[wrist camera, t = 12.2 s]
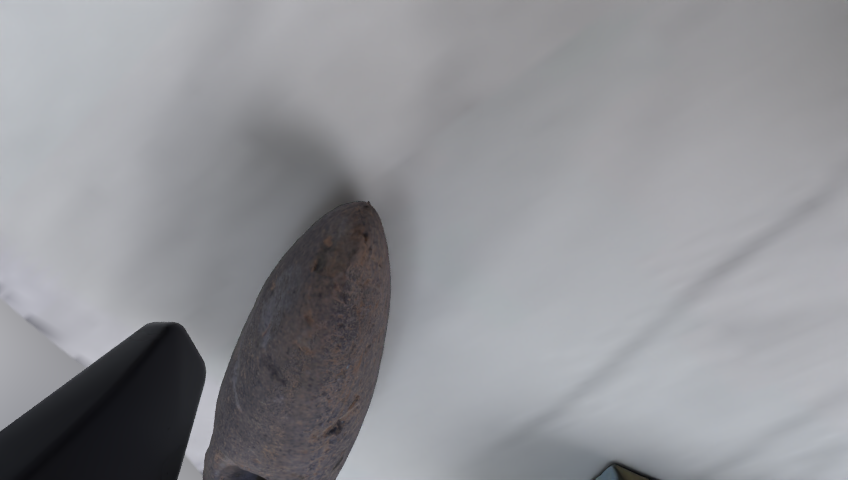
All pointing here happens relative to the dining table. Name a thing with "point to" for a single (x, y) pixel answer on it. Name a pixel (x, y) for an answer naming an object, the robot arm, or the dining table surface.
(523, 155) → the dining table surface
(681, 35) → the dining table surface
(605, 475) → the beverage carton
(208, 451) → the perforated stone tool
